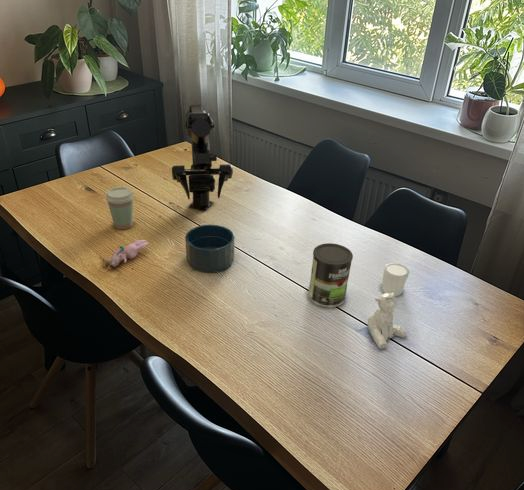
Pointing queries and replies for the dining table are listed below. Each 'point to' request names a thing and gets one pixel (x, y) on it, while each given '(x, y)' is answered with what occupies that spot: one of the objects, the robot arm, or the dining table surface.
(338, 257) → the coffee can
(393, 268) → the white candle jar
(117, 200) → the coffee cup
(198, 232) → the bowl
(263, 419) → the dining table surface
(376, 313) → the seated beast figurine
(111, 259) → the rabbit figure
